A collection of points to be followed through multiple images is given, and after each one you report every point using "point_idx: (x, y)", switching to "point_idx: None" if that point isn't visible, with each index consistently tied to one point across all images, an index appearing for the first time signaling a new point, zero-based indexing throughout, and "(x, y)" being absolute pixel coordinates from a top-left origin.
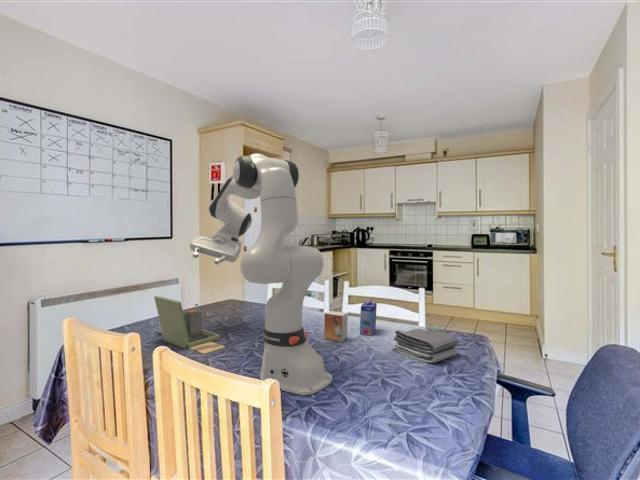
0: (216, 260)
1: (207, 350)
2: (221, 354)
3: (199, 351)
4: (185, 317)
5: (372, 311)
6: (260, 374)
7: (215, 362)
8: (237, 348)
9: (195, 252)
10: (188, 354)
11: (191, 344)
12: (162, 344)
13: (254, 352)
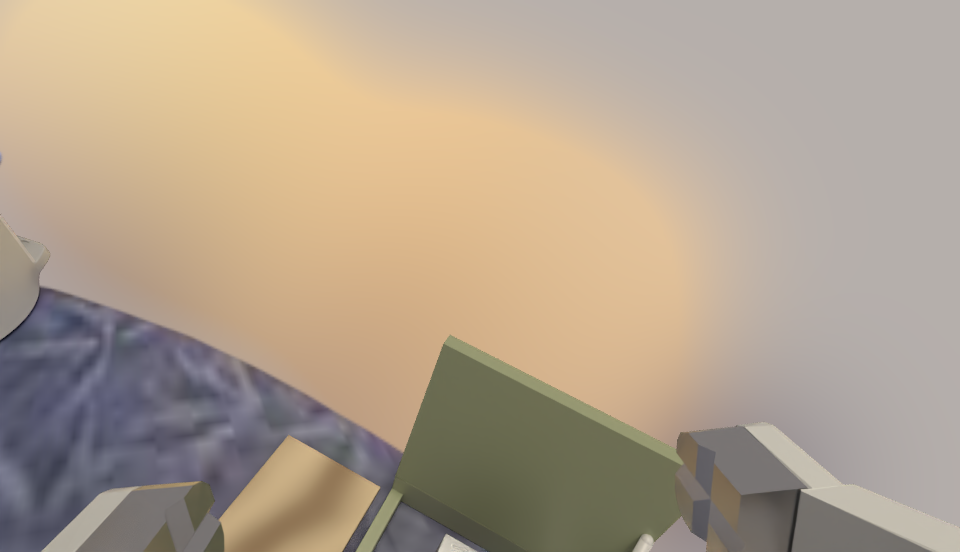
0: (153, 488)
1: (286, 470)
2: (211, 451)
3: (319, 454)
4: None
5: None
6: (34, 280)
7: (222, 375)
8: None
9: (794, 464)
10: (358, 432)
11: (383, 504)
12: None
13: (24, 501)
